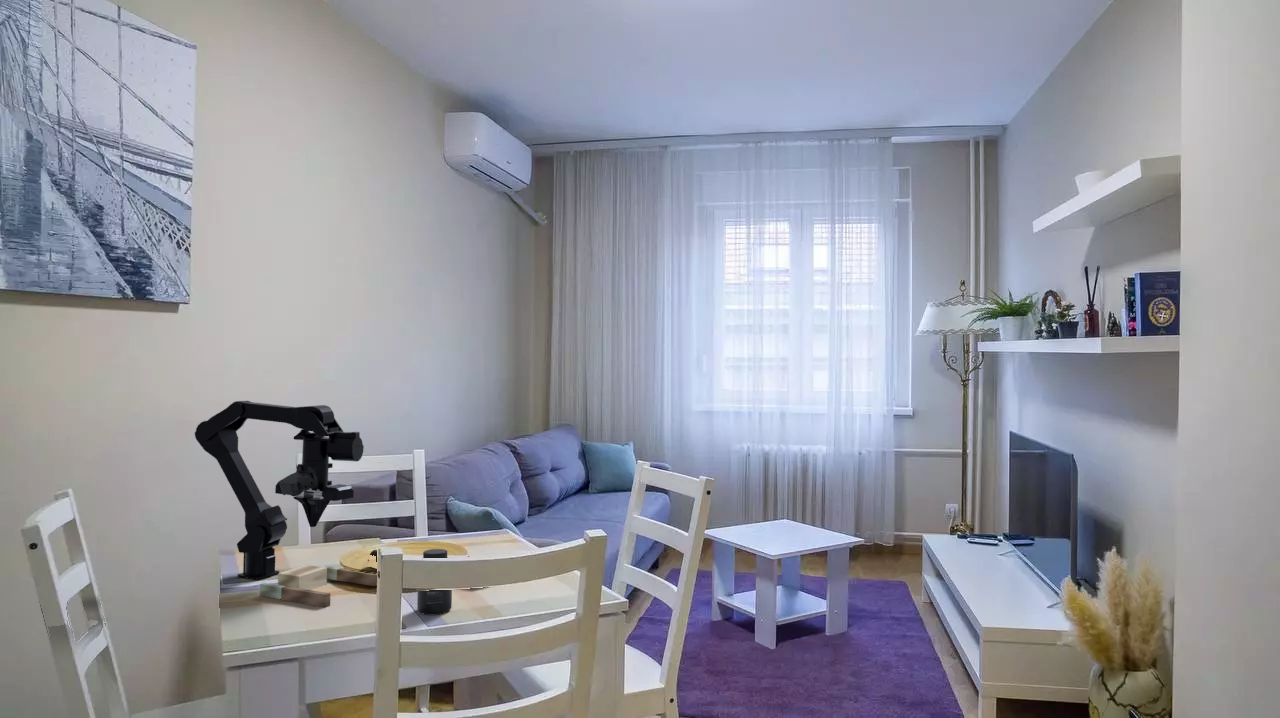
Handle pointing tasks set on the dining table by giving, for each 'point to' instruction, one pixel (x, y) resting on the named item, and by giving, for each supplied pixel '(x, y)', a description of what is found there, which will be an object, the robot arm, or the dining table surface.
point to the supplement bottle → (434, 591)
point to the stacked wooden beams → (316, 596)
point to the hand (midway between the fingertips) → (312, 526)
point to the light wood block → (304, 577)
